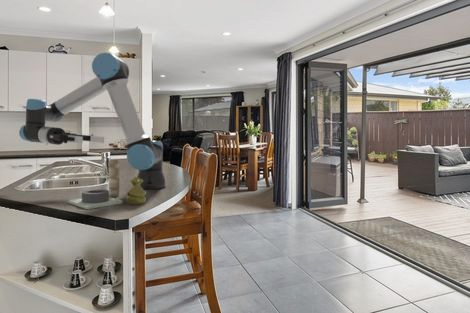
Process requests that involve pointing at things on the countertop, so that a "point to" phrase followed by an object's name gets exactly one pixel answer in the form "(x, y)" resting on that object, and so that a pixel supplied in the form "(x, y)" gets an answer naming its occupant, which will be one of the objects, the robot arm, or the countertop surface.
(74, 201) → the socket
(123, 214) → the countertop surface
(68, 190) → the countertop surface
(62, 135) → the robot arm
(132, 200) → the olive twisted vase
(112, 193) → the peg
